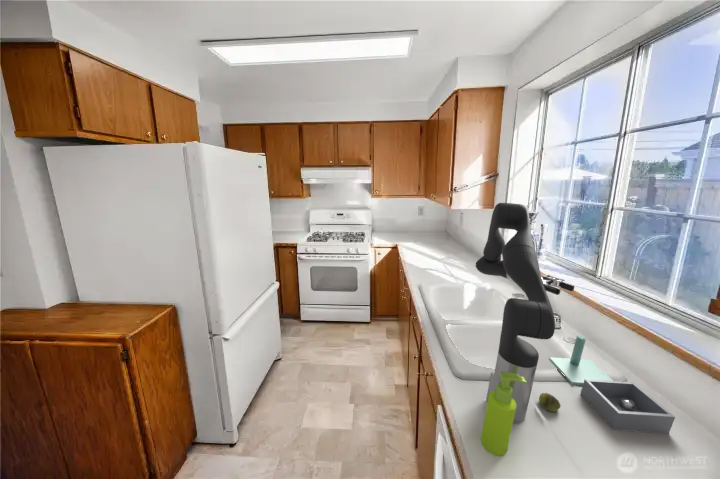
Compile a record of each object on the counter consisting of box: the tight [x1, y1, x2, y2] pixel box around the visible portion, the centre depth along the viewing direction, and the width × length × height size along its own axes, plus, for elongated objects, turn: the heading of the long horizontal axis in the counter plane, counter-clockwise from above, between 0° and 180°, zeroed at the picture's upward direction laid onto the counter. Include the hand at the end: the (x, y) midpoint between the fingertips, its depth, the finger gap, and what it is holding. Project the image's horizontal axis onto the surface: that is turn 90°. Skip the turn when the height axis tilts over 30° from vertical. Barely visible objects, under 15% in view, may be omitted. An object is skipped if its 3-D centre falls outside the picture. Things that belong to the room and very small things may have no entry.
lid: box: [548, 335, 614, 386], centre depth 93 cm, size 14×12×12 cm
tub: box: [580, 379, 676, 434], centre depth 79 cm, size 14×12×6 cm
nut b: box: [619, 397, 635, 411], centre depth 81 cm, size 3×3×2 cm
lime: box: [538, 392, 561, 413], centre depth 79 cm, size 4×5×5 cm
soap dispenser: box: [480, 372, 527, 457], centre depth 67 cm, size 6×7×20 cm
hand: (566, 290), depth 98 cm, fingers open, 8 cm apart
